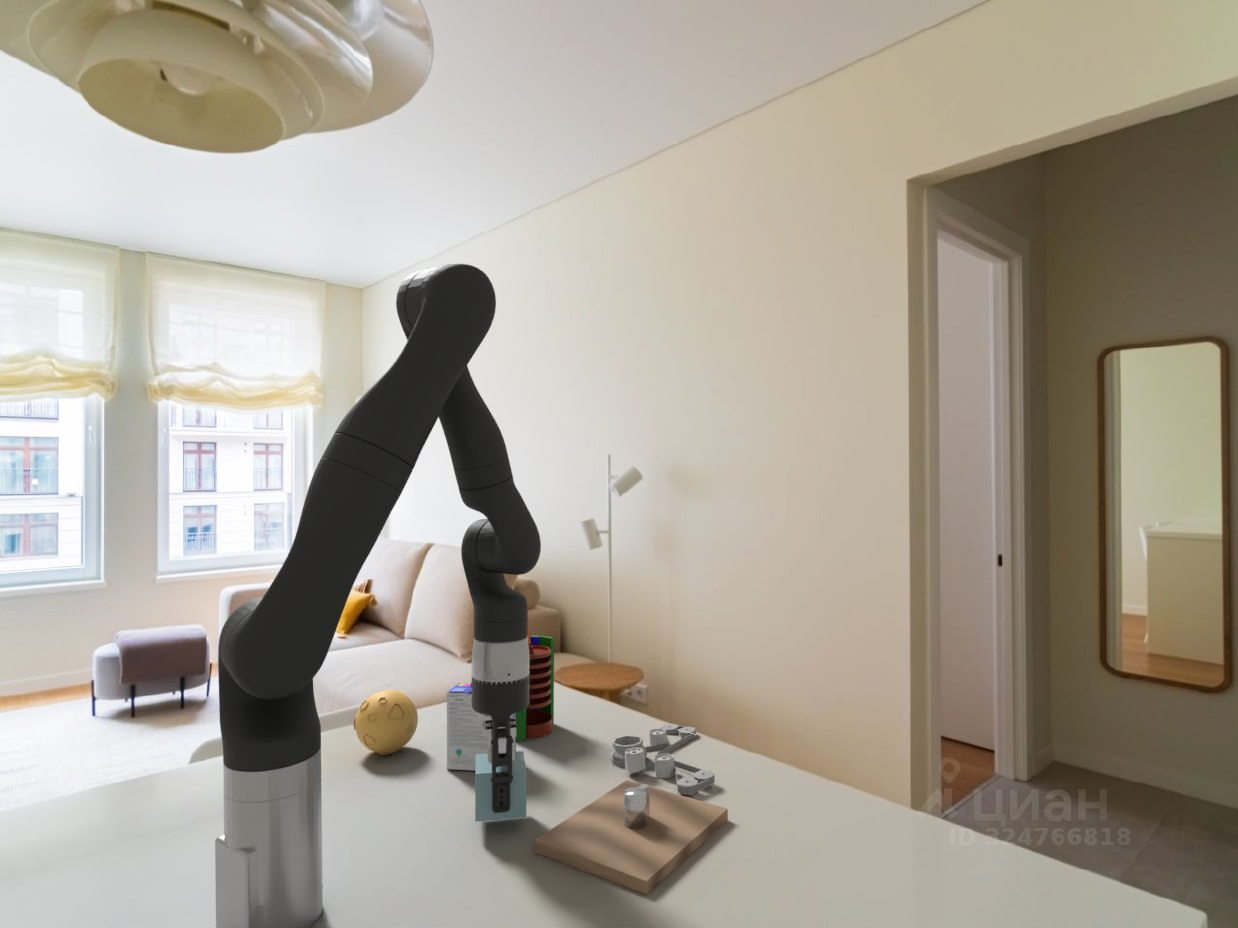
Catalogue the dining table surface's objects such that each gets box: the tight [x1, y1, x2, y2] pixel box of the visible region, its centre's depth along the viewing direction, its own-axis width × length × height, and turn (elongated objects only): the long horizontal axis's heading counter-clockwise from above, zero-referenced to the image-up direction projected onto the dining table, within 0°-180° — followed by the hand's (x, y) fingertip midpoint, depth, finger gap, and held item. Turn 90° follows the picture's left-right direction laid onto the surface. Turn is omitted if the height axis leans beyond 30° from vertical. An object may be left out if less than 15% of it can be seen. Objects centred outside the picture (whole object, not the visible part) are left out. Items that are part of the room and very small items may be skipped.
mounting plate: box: [534, 779, 729, 896], centre depth 93 cm, size 20×16×2 cm
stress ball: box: [353, 689, 419, 756], centre depth 120 cm, size 10×10×10 cm
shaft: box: [624, 783, 650, 829], centre depth 93 cm, size 4×3×4 cm
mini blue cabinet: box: [474, 750, 528, 822], centre depth 96 cm, size 6×6×6 cm
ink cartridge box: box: [446, 680, 517, 772], centre depth 115 cm, size 10×6×14 cm, turn 81°
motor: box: [516, 627, 555, 742], centre depth 129 cm, size 10×9×20 cm
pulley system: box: [609, 723, 716, 796], centre depth 116 cm, size 27×5×15 cm
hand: (500, 798), depth 96 cm, fingers closed on mini blue cabinet, 6 cm apart
